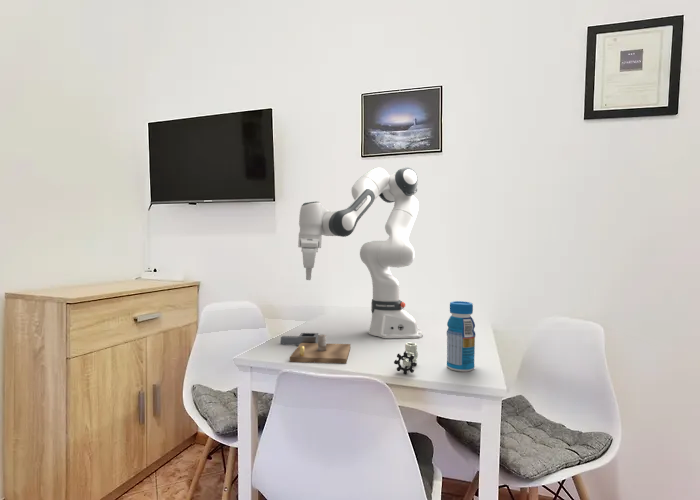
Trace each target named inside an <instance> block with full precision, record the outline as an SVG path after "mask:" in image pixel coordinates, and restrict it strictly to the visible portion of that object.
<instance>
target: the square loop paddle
mask: <svg viewBox="0 0 700 500" xmlns="http://www.w3.org/2000/svg"><path fill="white" fill-rule="evenodd" d="M318 335H319V333H318V332H301V333H300V335H298V336H296V335H293V336H292V335H282V336H281V337H280V345H288V346H289V345H292V346H297V347H298V346H299V345H300V344H301V343H318Z"/></svg>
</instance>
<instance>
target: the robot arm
mask: <svg viewBox="0 0 700 500" xmlns="http://www.w3.org/2000/svg"><path fill="white" fill-rule="evenodd" d="M418 185H419V176H418V173H417V172H416V171H415V169H413V168H412V167H408V166H407V167H406V166H405V167H402V168H400V169H398V170H397V171H395V172H394V173H392V174H389V173H388V172H387V170H385V169H384V168H382V167H375V168H372V169H371V170H369V171H367V172H366V173H364V174H363V175H362V176H361V177H359V178H358V179H357V180H356V181H355V182H354V184H353V185H352V187H351V196H352V198H353V201H352V203H351V204H350V205H349V206H348V207H346V208H344V209H341V210H336V211H331V210H330V209H328V208H326V207H325V206H323V204H322V203H321V202H320V201H309V202H304V203H303V204H301V206H300V209H299V210H300V211H299V218H298V219H299V222H298V225H299V232H298V242H297V243H298V245H297V246H298V247H297V248H301V252H302V262H303V269H305V280H306V281H311V280H312V279H311V278H312V272H313V271H312V270H313V268H314V267H315V263H316V261H315V260H316V255H317V254H316V253H318V252H319V249H321V248H322V236H325V237H342V238H343V237H345V238H346V237H348V236H350V235H352V234H353V233H354V231H355V229H356V226H357V224H358V222H359V221H360V219H361V218H362V217H363V215H364V214H366V212H368V210H369V209H370V207H371V206H372V205H373V203H374V201H375V200H376V199H377V198H378V197H379V198H380V199H381V200H382V201H384V202H385V203H390V204H391V203H394V205H393V208H392V209H391V212H390V214H389V216H388V218H387V221H386V222H385V225H384V230H385V232H386V234H387V236H389V237H388V238H387V239H386V240H371V241H367V242H365V243H363V244H362V245H361V247H360V249H359V258H360V260H361V262H362V263H363V264H364V265H365V266H366V267H367V269H368V271H369V274H370V277H371V284H372V299H371V306H370V308H371V318H370V319H371V321H370V325H369V326H370V327H369V329H368V334H369V335H371V336H375V337H379V338H382V339H419V338H422V337H423V335H424V333H423V331H422V330H421V329H419V328H418V323H417V320H416V318H414V316H413V315H411V314H410V313H409V312H408V311H407V310H405V307H406V303H405V302H404V301H403V300H401V299H400V282H399V280H398V278H396V277H395V276H394V275H393V274H392V272H391V269H390V268H404V267H409V266H410V265H411V264H412V263H413V262H414V259H415V255H416V254H415V249H414V247H413V245H412V243H410V239H409V237H410V234H411V231H412V229H413V226H414V223H415V221H416V218H417V217H418V216H417V215H418V212H419V206H420V204H419V200H418V199H417V198H416V197H415V196H414V195H416V194H417V192H418Z"/></svg>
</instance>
